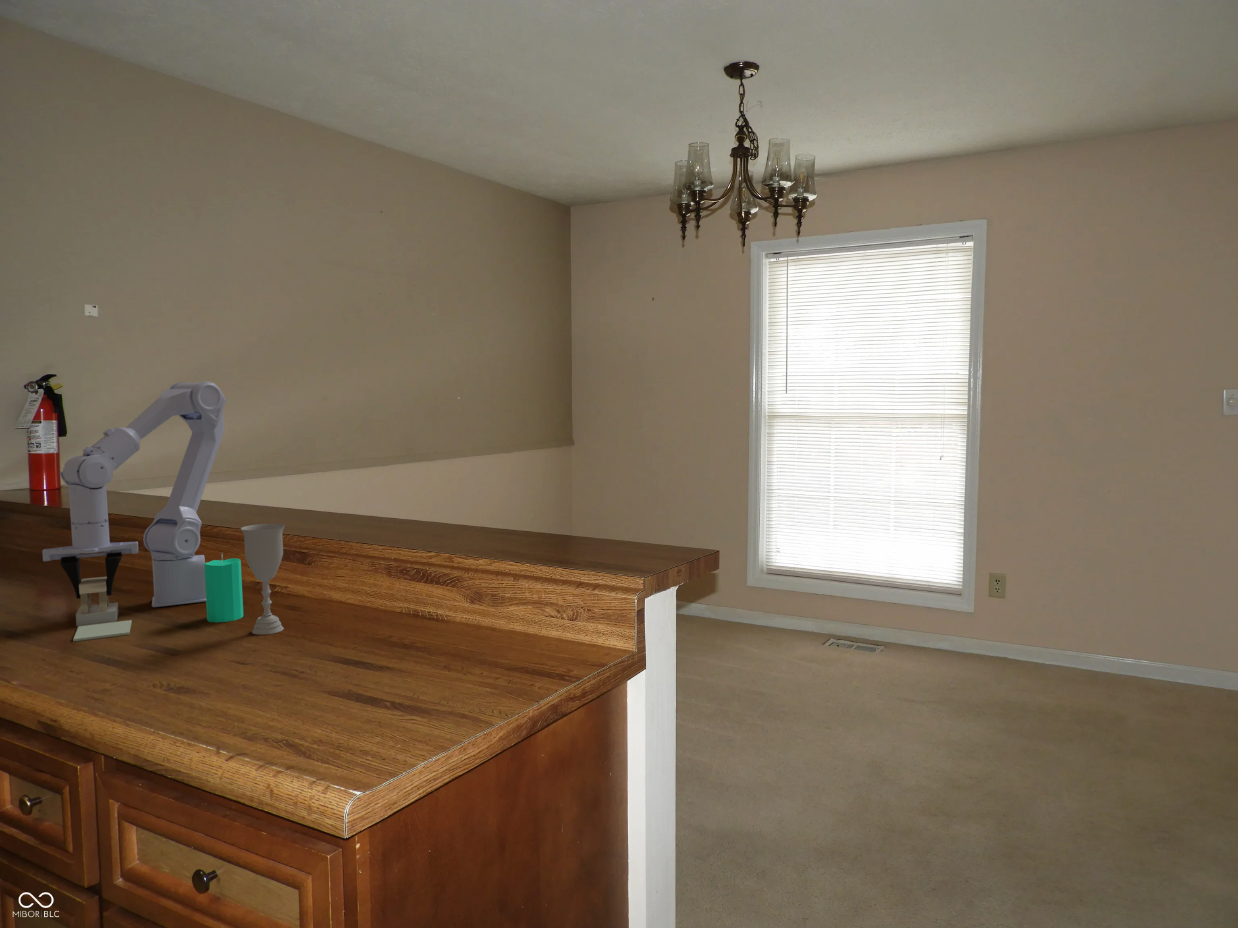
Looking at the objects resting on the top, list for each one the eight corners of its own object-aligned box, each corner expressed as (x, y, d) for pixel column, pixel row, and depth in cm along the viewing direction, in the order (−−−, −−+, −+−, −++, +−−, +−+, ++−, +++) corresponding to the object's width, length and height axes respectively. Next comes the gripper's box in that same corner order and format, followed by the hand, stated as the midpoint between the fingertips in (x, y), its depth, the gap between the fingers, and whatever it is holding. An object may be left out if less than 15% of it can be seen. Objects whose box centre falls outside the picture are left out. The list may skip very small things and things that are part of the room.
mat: (131, 622, 149) (131, 619, 149) (129, 634, 141) (129, 632, 141) (78, 628, 145) (78, 626, 145) (73, 641, 137) (73, 639, 137)
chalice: (272, 637, 138) (267, 530, 137) (236, 635, 139) (231, 529, 138) (298, 625, 145) (293, 523, 144) (263, 623, 147) (258, 523, 145)
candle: (249, 613, 154) (246, 550, 153) (231, 622, 148) (228, 556, 147) (219, 613, 154) (216, 549, 153) (200, 622, 148) (196, 556, 147)
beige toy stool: (84, 606, 152) (82, 578, 152) (109, 603, 154) (107, 576, 154) (80, 613, 147) (78, 585, 147) (107, 610, 149) (105, 582, 148)
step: (118, 612, 155) (117, 602, 155) (116, 621, 149) (115, 610, 149) (80, 617, 153) (79, 606, 152) (76, 626, 146) (75, 615, 146)
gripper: (38, 528, 142) (43, 605, 143) (135, 521, 149) (139, 595, 150) (43, 523, 149) (48, 597, 150) (136, 516, 155) (141, 587, 156)
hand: (94, 595), depth 150 cm, fingers closed on beige toy stool, 4 cm apart
